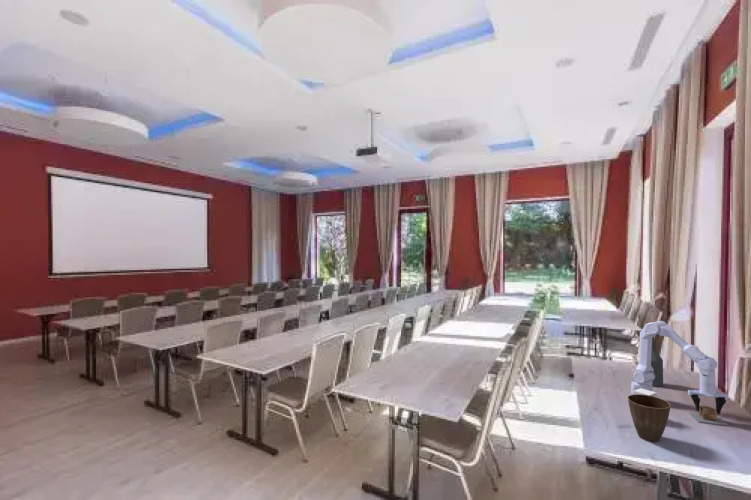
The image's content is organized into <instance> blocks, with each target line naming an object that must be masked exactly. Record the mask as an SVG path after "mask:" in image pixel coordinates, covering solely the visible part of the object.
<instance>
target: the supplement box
mask: <svg viewBox="0 0 751 500" xmlns="http://www.w3.org/2000/svg"><path fill="white" fill-rule="evenodd" d="M634 394H640V395H649V396H653V397H657V396H658V395H657V394H658V392H655V391H649V390H645V389H642V388H640V389H637V390H634V391H633V395H634ZM657 398H658V397H657Z"/></svg>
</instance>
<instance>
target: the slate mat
mask: <svg viewBox="0 0 751 500" xmlns="http://www.w3.org/2000/svg"><path fill="white" fill-rule="evenodd" d="M688 413H689V415H691V417H692V418H693V419H694V420H695V421H696V422H697V423H700V424H708V425H716V426H722V427H723V426H725V427H729V424H728V423H727V422H726V421H724V420H723V419H722V418H721V417H720V416H719V415H718V414H717V421H711V420H704V419H703V418H702V417H701V416H699V412H694V411H689V412H688Z"/></svg>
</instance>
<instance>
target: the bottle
mask: <svg viewBox="0 0 751 500" xmlns="http://www.w3.org/2000/svg"><path fill="white" fill-rule="evenodd" d="M651 367H652V368H653V372H654V375H655V379H654V380H653V381H652V387H653V388H660V387H663V386H664V360H663V359H662V357H661V356H660V354H659V353H658V351H657V348H656V342H655V336H654V337H652V351H651Z"/></svg>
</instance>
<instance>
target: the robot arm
mask: <svg viewBox="0 0 751 500" xmlns="http://www.w3.org/2000/svg"><path fill="white" fill-rule="evenodd" d="M657 335H658V336H660V337H667V338H668V339H670V340H671V341H672V342H674V343H675V344H676V345H677V346H679V347H680V348H682V352H683V353H684V354H685V355H686V356H687V357H688V358H690V360H692V361H693V362H694V363H695V365H696V367H697V368H698V371H699V372H698V373H699V374H698V375H699V377H698V378H699V383H698V384H699V389H688V390H687V394H688V395H689V396H690V397H691V399H692V401H693V404H694V406H695V410H696V411H697V412H699V411H700V406H699V405H701V404H700V402H701V398H700V397H707V398H708V397H709V398H714V399H715V409H716V410H717V415H718V414H719V415H720V414H721V412H722V408H723V407H724V406H725V404H726V403H727V400H729V395H728V394H727V393H720V392H717V391H716V368H717V367H718V362H717V361H716V359H715V358H714V357H710V356H709V355H708V354H705V353H704V352H703V351H701V349H699V346H697V345H694V344H689V342H687V341H686V340H685V339H683V338H682V336H681V335H679V334H678V333H677V332H676V331H675V330H674V328H672V326H671V325H669V324H667V322H665V321H664V320H658V321H653V322H652V321H651V322H648V323H645V324H644V327H643V328H642V329H641V330H640V332H639V346H638V347H639V349H638V350H639V351H638V365H637V367H635V370H634V373H633V377H632V378H633V380H634V381H631V382H630V395H633V391H634V390H637V389H640V388H642V389H645V390H649V391H653V389H654V387H653V386H652V381H653V380H654V379H655V375H654V372H653V368H652V367H651V351H652V337H654V338H655V336H657ZM653 392H654V391H653Z"/></svg>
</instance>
